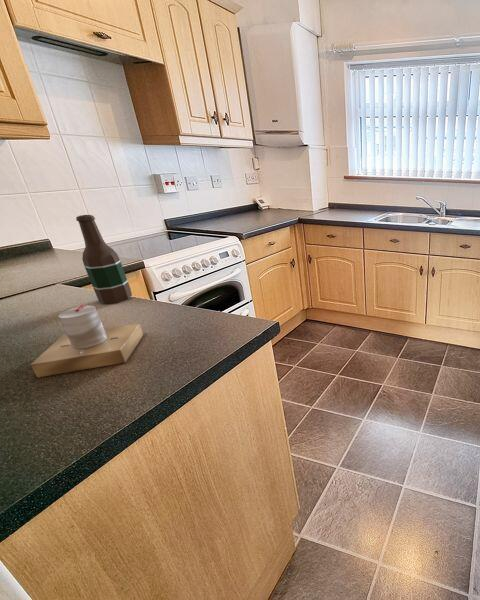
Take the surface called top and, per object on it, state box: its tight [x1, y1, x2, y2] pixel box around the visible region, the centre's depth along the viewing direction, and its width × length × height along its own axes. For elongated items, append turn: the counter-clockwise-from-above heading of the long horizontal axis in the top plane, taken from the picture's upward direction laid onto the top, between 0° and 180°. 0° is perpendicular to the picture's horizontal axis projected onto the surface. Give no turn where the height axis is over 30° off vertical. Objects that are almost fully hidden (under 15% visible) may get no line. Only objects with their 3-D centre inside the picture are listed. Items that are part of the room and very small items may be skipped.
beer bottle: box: [75, 214, 133, 305], centre depth 93 cm, size 8×8×24 cm
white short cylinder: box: [57, 304, 107, 349], centre depth 68 cm, size 6×6×7 cm
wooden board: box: [30, 323, 144, 378], centre depth 70 cm, size 14×12×3 cm
